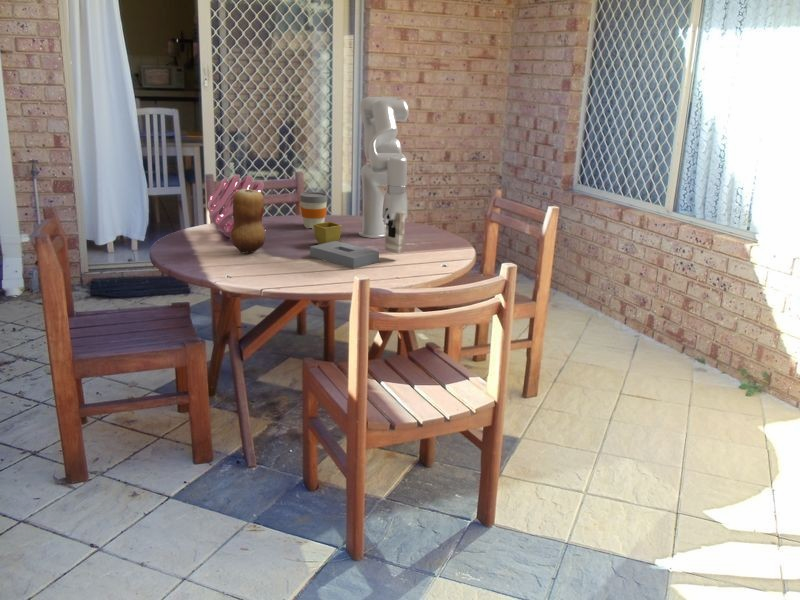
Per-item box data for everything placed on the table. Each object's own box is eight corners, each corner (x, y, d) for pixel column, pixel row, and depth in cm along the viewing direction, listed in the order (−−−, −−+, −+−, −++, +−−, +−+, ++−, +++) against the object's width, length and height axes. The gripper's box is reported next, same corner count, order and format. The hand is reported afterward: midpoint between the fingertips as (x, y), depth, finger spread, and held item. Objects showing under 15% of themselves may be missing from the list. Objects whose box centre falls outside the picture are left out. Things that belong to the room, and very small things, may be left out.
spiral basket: (289, 187, 325) (235, 152, 315) (282, 215, 301) (224, 178, 292) (256, 233, 336) (203, 200, 327) (247, 263, 313) (190, 229, 303)
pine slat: (390, 248, 292) (391, 209, 286) (403, 252, 287) (405, 212, 282) (385, 249, 289) (386, 210, 284) (398, 253, 285) (399, 213, 280)
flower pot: (324, 249, 301) (324, 227, 298) (312, 245, 307) (312, 223, 304) (342, 246, 306) (342, 225, 304) (330, 242, 313) (330, 221, 310)
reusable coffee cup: (323, 230, 333) (322, 197, 328) (296, 228, 335) (296, 196, 330) (331, 224, 344) (330, 193, 340) (305, 223, 347) (305, 191, 342)
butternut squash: (263, 256, 288) (261, 193, 280) (229, 256, 287) (225, 192, 279) (267, 247, 301) (265, 187, 293) (234, 247, 300) (231, 186, 292)
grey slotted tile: (335, 250, 300) (335, 240, 298) (378, 261, 285) (379, 251, 284) (310, 256, 290) (310, 246, 288) (353, 268, 275) (353, 258, 274)
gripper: (402, 185, 288) (401, 230, 294) (374, 190, 277) (373, 237, 283) (417, 188, 284) (415, 234, 290) (389, 193, 272) (388, 241, 278)
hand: (394, 235), depth 286 cm, fingers closed on pine slat, 3 cm apart
